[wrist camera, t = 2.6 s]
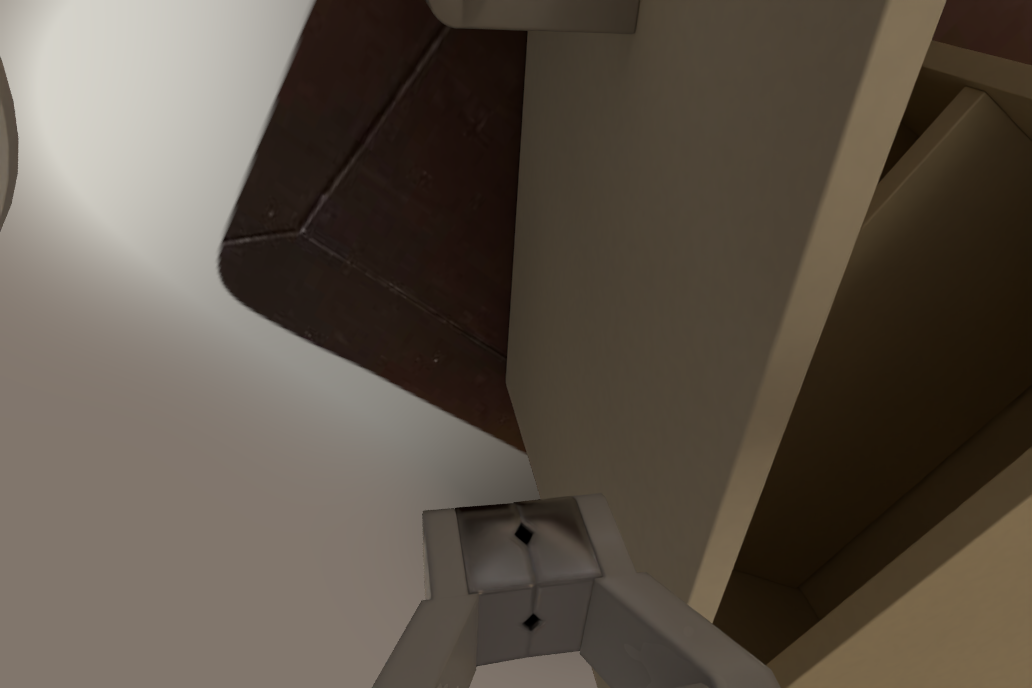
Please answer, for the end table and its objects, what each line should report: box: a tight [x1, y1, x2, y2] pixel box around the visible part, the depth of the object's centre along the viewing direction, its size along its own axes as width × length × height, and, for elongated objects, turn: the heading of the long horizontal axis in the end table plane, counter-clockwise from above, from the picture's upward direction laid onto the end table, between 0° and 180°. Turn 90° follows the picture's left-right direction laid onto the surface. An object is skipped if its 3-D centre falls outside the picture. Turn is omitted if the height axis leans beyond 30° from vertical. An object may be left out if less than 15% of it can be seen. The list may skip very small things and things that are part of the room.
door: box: [425, 0, 946, 688], centre depth 25 cm, size 7×26×24 cm, turn 177°
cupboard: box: [712, 40, 1032, 688], centre depth 32 cm, size 18×26×24 cm
